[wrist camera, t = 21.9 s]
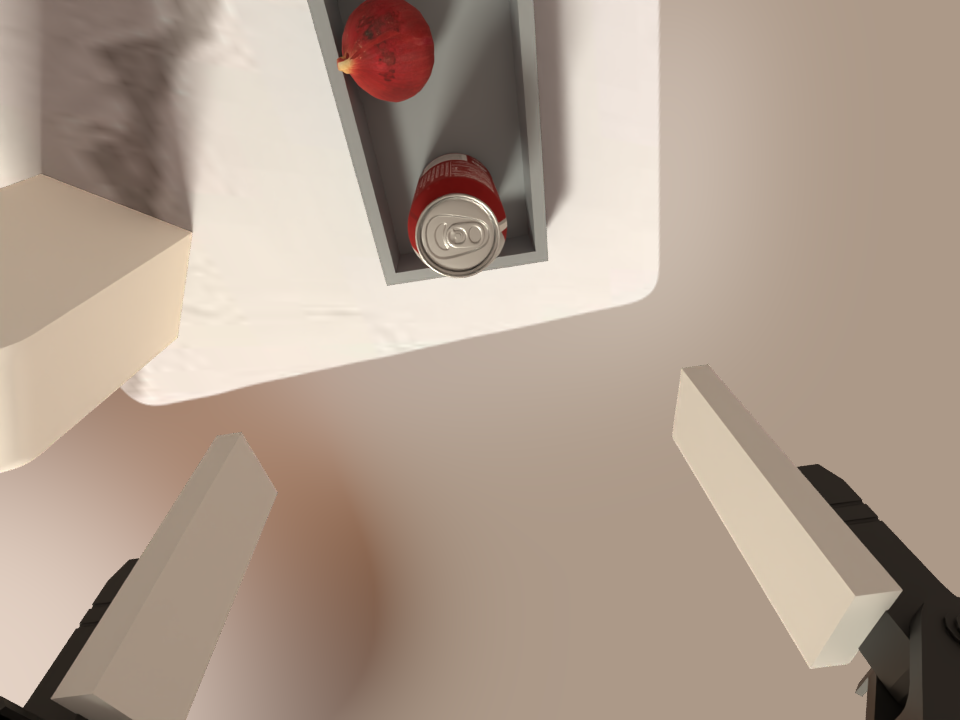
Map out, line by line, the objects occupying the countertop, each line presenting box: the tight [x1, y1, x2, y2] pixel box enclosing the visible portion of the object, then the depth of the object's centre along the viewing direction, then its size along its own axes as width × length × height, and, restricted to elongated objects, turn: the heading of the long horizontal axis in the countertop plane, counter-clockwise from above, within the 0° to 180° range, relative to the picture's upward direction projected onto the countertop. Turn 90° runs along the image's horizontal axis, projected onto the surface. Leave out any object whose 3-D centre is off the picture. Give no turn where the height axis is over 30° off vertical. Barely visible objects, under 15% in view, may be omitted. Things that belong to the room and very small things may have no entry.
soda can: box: [408, 153, 507, 278], centre depth 34 cm, size 7×7×12 cm
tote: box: [307, 0, 548, 286], centre depth 34 cm, size 22×14×5 cm, turn 8°
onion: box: [337, 0, 434, 102], centre depth 30 cm, size 6×6×8 cm
